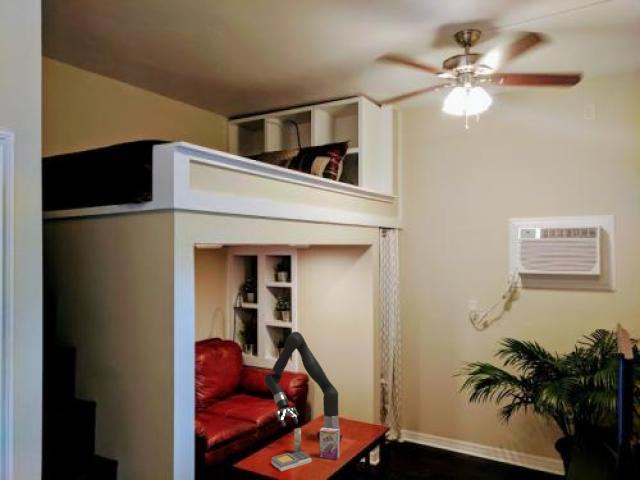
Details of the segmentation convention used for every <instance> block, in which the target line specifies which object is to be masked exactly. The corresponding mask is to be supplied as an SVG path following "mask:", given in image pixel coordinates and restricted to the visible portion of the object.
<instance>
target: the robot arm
mask: <svg viewBox="0 0 640 480" xmlns="http://www.w3.org/2000/svg"><path fill="white" fill-rule="evenodd" d="M296 350H297V351H298V353H299V355H300V358H301V362H302V366H303V367H304V370H305V371H306V373H307V374H308V376H309V378H311V379H312V380H313V381H314V382H315V383H316V384H317V385H318V387H319V388H320V390H321V392H322V394H323V399H322V400H323V403H322V404H323V428H331V429H339V442H340V441H341V428H340V427H341V426H340V425H339V423H340V422H339V392H338V390H337V388H336V387H335V386H334V385H333V384H332V383H331V382H330V380H329V378H328V376H327V375H326V373H325V370H323V368H322V366H321V364H320V363H319V362H318V360H317V359H316V356H314V354H313V353H312V351H311V349H310V348H309V346H308V344H307V342H306V340H305V338H304V336H303V334H302V333H300V332H298V331H293V332H292V333H290V334H289V335H288V336H287V337H286V340H285V343H284V346H283V349H282V351H281V353H280V354H279V357H278V358H277V359H276V361H275V363H274V365H273V367H272V372H273V373H270V372H269V373H266V375H265V376H264V382H265V385H266V386H267V388H268V389H269V390H270V392H271V394H272V396H273V398H274V399H273V400H274V403H275V405H276V408H277V410H276V411H275V412H274V415H275V419H276V420H277V422H280V423H281V426H282V427H283V428H285V427H287V425H286V421H285V420H284V418H287V417H290V418H293V421H294V423H295V425H298V423H299V420H298V416H299V412H298V410H297V408H296V407H295V406H293V407H291V406H290V403H289V400H288V398H287V396H286V393H285V392H284V389H283V387H282V385H280V384H279V383H280V382H281V380H282V376H283V372H284V370H285V369H286V367H287V365H288V363H289V360H290V359H291V356H292V354H293V353H294V352H295V351H296ZM280 415H281V416H280Z"/></svg>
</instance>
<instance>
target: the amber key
mask: <svg viewBox="0 0 640 480" xmlns="http://www.w3.org/2000/svg"><path fill="white" fill-rule="evenodd" d="M276 460H278V461H279V462H280V463H286V462H289V461H292V460H293V459H291V458H290V457H289V456H283V457H280V458H276Z"/></svg>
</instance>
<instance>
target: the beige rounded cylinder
mask: <svg viewBox="0 0 640 480" xmlns="http://www.w3.org/2000/svg"><path fill="white" fill-rule="evenodd" d="M293 433H294V434H293V436H294V437H293V439H294V440H293V441H294V444H293V445H294V448H293V451H292V454H294V453H297V452H300V451H303V450H302V429H301V428H300V427H297V428H294V429H293Z"/></svg>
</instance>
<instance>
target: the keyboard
mask: <svg viewBox="0 0 640 480" xmlns="http://www.w3.org/2000/svg"><path fill="white" fill-rule="evenodd" d="M283 456H289V457H290V458H291V459H293V460H292V461H289V462H286V463H280V462H279V461H278V460H276V458H280V457H283ZM309 463H312V458H311V456H310V455H309V454H307V453H306V452H304V451H303V450H302V451H300V452H297V453H294V454H293V453H289V452H288V453H284V454H280V455H275V456H273V457H271V465H272V466H274V467H275V468H276V469H277V468H278V469H277V470H279V471H280V472H283V471H286V470H290V469H293V468H296V467H300V466H303V465H306V464H309Z"/></svg>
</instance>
